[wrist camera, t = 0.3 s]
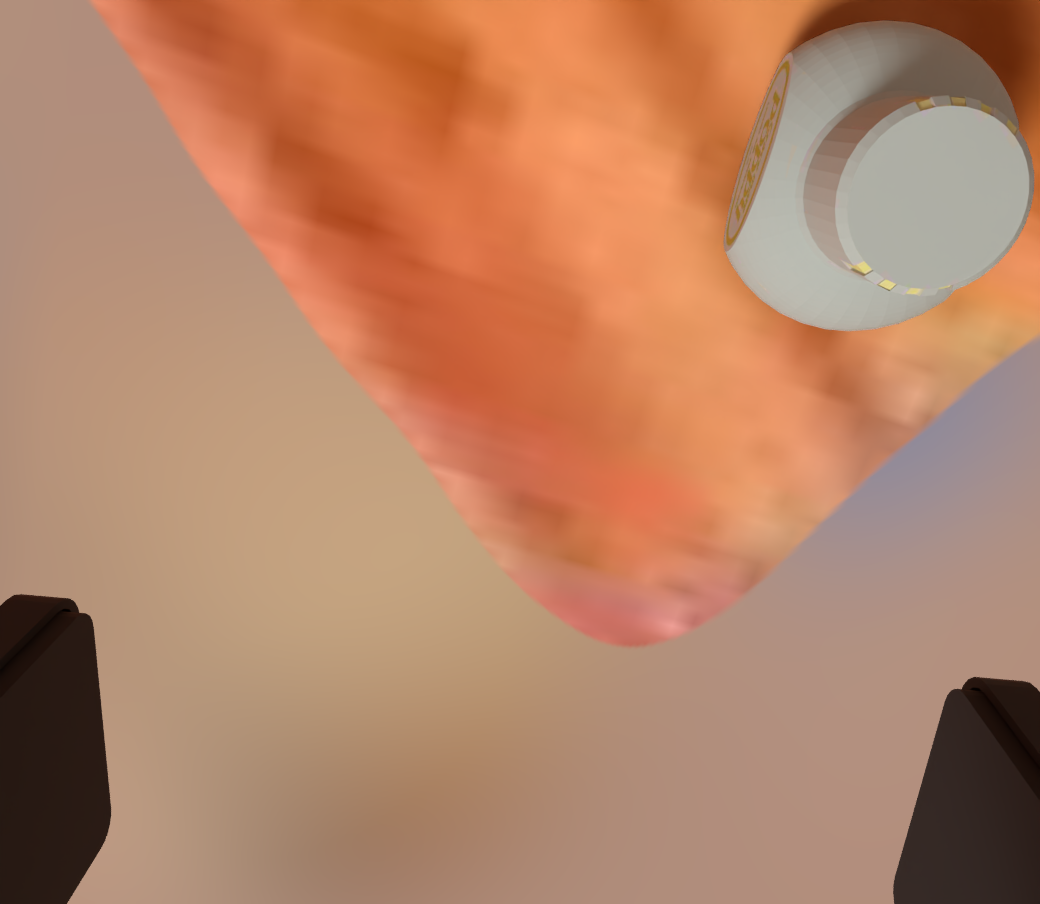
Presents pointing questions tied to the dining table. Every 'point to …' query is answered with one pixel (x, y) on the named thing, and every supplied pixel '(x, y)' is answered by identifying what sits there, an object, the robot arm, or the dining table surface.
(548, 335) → the dining table surface
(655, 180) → the dining table surface
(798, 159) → the air freshener
